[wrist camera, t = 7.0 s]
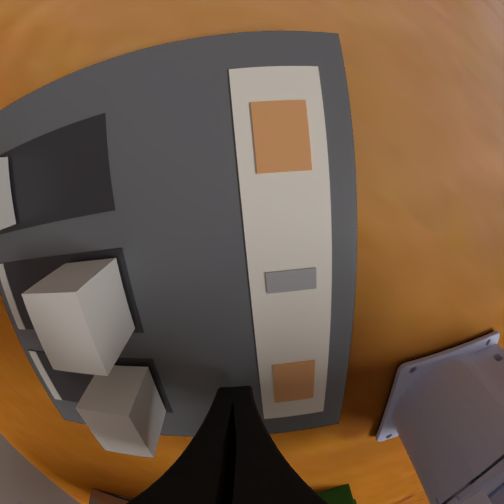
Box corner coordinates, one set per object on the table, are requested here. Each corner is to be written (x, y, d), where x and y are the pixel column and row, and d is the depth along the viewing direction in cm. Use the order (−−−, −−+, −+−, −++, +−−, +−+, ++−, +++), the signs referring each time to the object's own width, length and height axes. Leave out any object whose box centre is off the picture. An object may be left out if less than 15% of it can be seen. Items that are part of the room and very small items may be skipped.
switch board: (324, 51, 9) (339, 32, 7) (330, 399, 15) (339, 425, 13) (-2, 128, 9) (-27, 128, 7) (75, 400, 15) (63, 420, 13)
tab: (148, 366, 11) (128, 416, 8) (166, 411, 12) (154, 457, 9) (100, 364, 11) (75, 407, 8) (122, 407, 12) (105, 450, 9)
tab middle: (116, 258, 10) (75, 291, 7) (135, 328, 10) (108, 376, 8) (65, 263, 10) (21, 294, 7) (86, 328, 10) (53, 369, 8)
